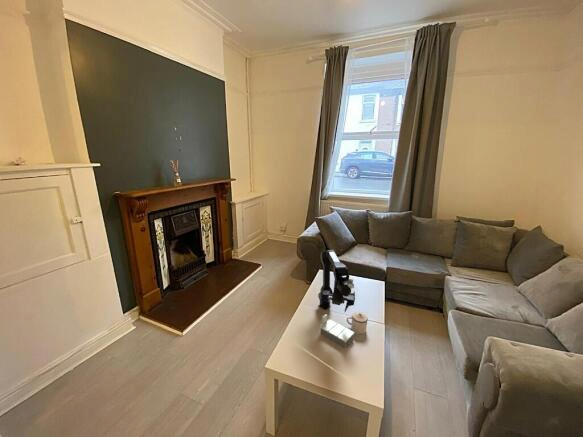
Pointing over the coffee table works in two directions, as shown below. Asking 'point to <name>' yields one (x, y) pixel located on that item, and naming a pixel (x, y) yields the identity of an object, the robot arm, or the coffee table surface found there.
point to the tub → (336, 338)
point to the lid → (336, 329)
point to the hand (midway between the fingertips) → (337, 310)
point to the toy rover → (351, 286)
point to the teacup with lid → (358, 322)
